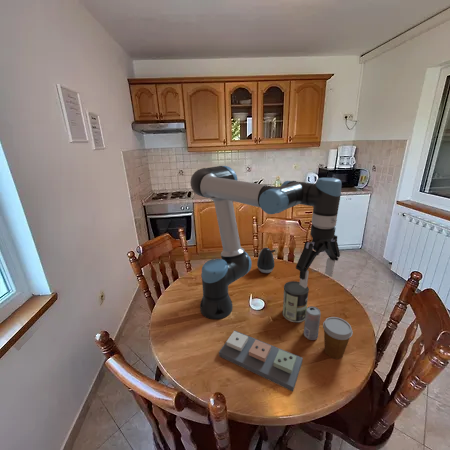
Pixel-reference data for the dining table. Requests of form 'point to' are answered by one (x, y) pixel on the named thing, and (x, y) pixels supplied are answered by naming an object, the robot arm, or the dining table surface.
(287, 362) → the key three
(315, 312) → the energy drink
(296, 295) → the coffee can
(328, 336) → the disposable coffee cup
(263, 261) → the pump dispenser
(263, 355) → the key two
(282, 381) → the keypad board
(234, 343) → the key one
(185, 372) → the dining table surface
